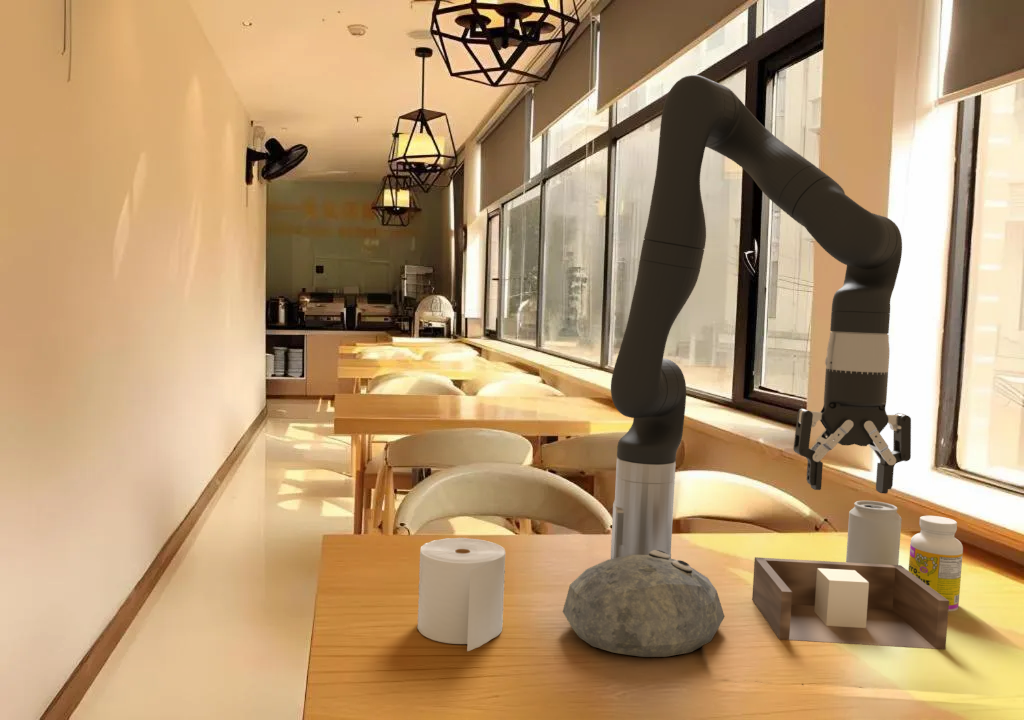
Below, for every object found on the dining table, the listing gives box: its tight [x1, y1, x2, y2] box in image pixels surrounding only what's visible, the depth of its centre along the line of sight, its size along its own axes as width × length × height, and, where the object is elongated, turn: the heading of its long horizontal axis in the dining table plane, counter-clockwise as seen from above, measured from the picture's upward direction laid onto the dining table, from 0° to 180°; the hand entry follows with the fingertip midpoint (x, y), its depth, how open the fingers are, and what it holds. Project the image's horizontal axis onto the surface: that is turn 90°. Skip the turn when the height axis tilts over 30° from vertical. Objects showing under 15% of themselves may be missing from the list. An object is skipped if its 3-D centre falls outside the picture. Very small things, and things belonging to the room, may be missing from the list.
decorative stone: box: [562, 550, 725, 658], centre depth 103 cm, size 18×21×10 cm
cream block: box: [814, 568, 869, 628], centre depth 108 cm, size 5×5×6 cm
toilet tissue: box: [417, 537, 506, 652], centre depth 102 cm, size 11×12×10 cm
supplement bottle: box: [907, 515, 964, 612], centre depth 116 cm, size 7×7×13 cm
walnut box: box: [751, 556, 949, 650], centre depth 107 cm, size 20×14×7 cm
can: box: [845, 500, 903, 565], centre depth 128 cm, size 8×8×12 cm
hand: (848, 490), depth 107 cm, fingers open, 8 cm apart
